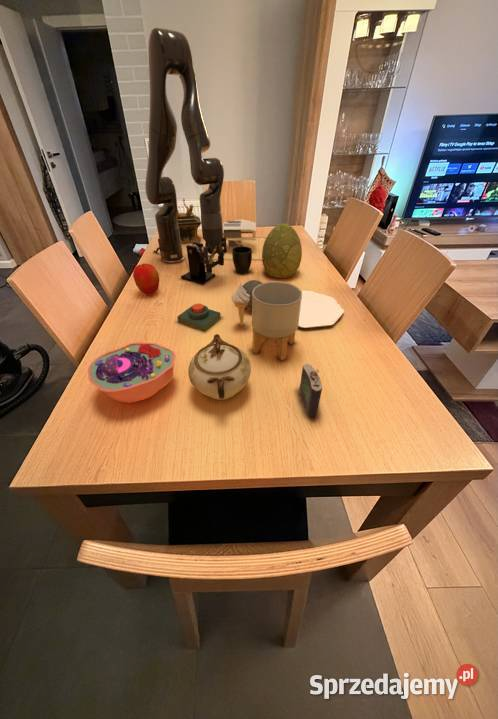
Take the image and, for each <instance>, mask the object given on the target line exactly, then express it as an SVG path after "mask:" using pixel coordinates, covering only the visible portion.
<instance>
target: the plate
mask: <svg viewBox="0 0 498 719" xmlns="http://www.w3.org/2000/svg"><path fill="white" fill-rule="evenodd" d="M301 292H302V300H301V308H300V316H299V324H298V328H301V329H313V328H323V327H331V326H333V325H335V324H336V322H337V321H339V319H340V318H341V317H342V316H343V315H344V313H345V310H344V309H343V308H342V306H341V305H340V304H339V303H338V302H337V300H336V299H335V298H334V297H333V296H329V295H326V294H322V293H319V292H315V291H312V290H301Z"/></svg>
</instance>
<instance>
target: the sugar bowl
mask: <svg viewBox="0 0 498 719" xmlns="http://www.w3.org/2000/svg"><path fill="white" fill-rule="evenodd" d="M251 373H252V365H251V361H250V358H249V357H248V355H247V354H246V353H245V352H244V351H243V350H242V349H241V348H239V347H238V346H235V345H233V344H231V343H229V342H228V341H224V340H223V339H222V338H221V336H220V334H218V333H216V334H214V335H213V339H212V340H211V341H210V342H209V343H208V344H206V345H205V346H203V347H201V348H200V349H199V350H198V351H197V352H196V353H195V354H194V355H193V357H192V358H191V360H190V361H189V365H188V369H187V374H188V379H189V382H190V383H191V385H192V386H193V387H194V389H196V390H197V391H198V392H199V393H201V394H202V395H203V396H204V395H205V396H207V397H209V398H211V399H214V400H218V401H224V400H229V399H231V398H233V397H234V396H236V394H238V393H239V392H241V390H242V389H244V387H245V386H246V385H247V383H248V382H249V379H250V377H251Z"/></svg>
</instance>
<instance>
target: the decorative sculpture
mask: <svg viewBox="0 0 498 719" xmlns="http://www.w3.org/2000/svg"><path fill="white" fill-rule="evenodd" d="M265 238H266V240H265V242H264V245H263V250H262V259H261V260H262V261H261V262H262V266H263V268H264V270H265V272H266V274H267V275H269V277H272V278H276V279H288V278H290V277H292V276H294V275H295V273H296V272H297V271H298V269H299V267H300V265H301V262H302V258H303V249H302V248H303V247H302V242H301V239H300V236H299V235H298V233H297V231H296V230H295V229H294V227H293V226H292V225H290V224H288V223H278V224H277V225H275V226H274V227H273V228H272V229H271V230H270V231H269V233H268V234H267V236H266V237H265Z"/></svg>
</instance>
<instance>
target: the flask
mask: <svg viewBox="0 0 498 719" xmlns="http://www.w3.org/2000/svg"><path fill="white" fill-rule="evenodd" d="M318 373H320V370H319V369H318V368H317V369H315V368H314V367H313V365H311V364H309V363H305V364H303V365H302V369H301V377H300V383H299V389H298V394H299V397H300V398H301V403H302V405H304V407H303V408H304V409H305V413H306V416H307V417H309V418H310V419H315V418H317V417H318V411H319V406H320V401H321V397H322V396H321V395H322V393H323V392H322V391H323V385H322V382H321V378H320V375H318Z"/></svg>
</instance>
